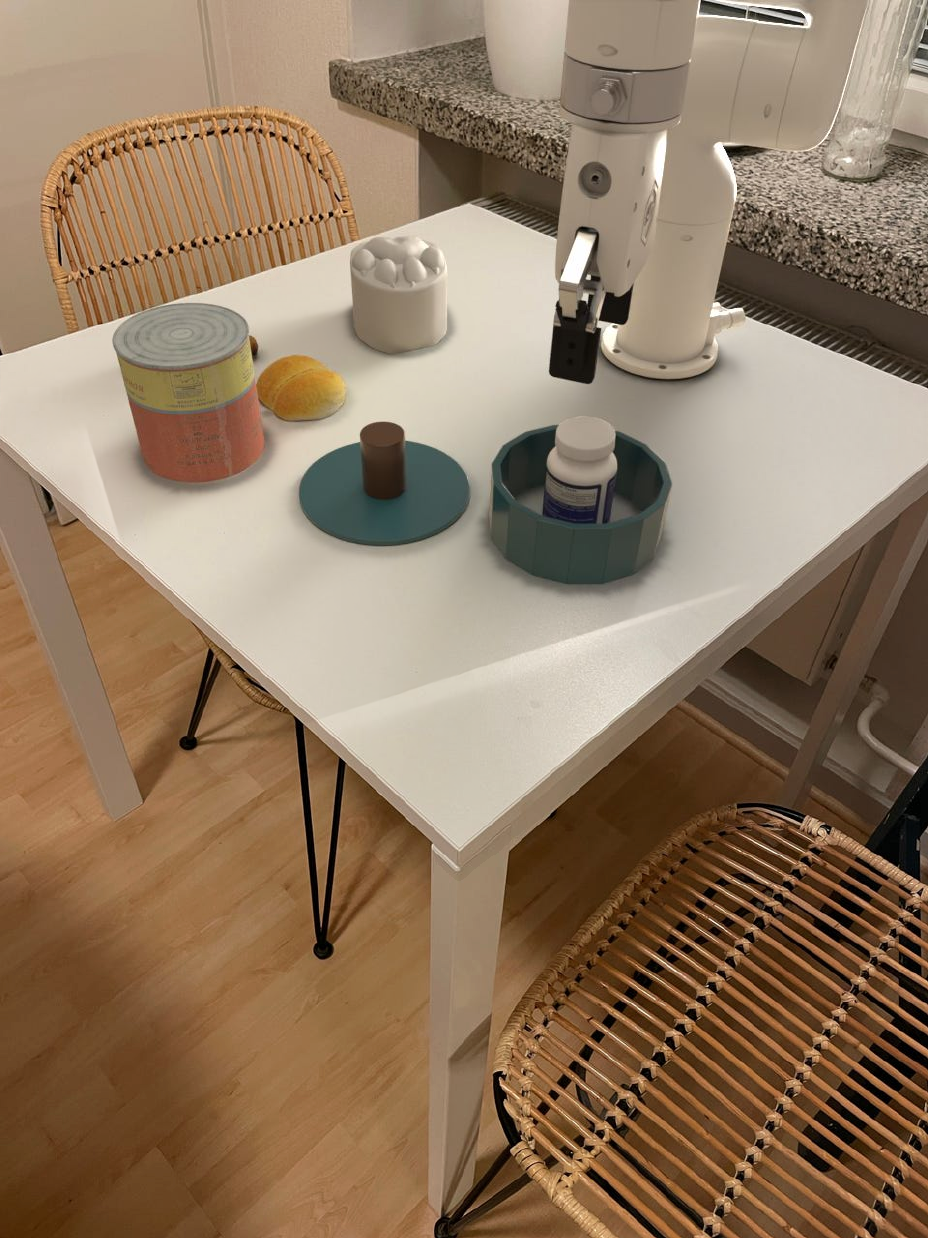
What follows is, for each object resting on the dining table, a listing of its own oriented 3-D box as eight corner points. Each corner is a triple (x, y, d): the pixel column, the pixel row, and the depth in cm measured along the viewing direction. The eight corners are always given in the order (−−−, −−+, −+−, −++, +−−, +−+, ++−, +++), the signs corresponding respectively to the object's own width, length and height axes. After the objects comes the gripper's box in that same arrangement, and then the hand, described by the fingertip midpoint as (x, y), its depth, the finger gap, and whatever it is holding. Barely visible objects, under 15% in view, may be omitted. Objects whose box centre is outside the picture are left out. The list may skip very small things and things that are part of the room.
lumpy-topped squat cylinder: (439, 298, 113) (439, 224, 107) (453, 352, 103) (454, 275, 97) (351, 302, 111) (346, 227, 105) (357, 357, 102) (352, 279, 96)
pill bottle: (574, 502, 84) (586, 403, 77) (621, 534, 81) (638, 434, 74) (526, 527, 82) (534, 427, 75) (573, 561, 78) (586, 460, 72)
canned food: (187, 409, 94) (163, 293, 86) (288, 434, 91) (273, 316, 83) (117, 470, 87) (83, 349, 78) (225, 499, 84) (202, 377, 75)
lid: (430, 435, 92) (429, 373, 87) (497, 524, 82) (501, 461, 77) (279, 470, 87) (270, 407, 83) (332, 569, 77) (325, 504, 73)
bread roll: (295, 435, 91) (291, 399, 88) (246, 397, 96) (240, 361, 93) (365, 406, 95) (363, 370, 92) (314, 370, 100) (310, 335, 97)
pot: (603, 468, 88) (612, 410, 84) (691, 561, 79) (706, 501, 75) (462, 505, 84) (463, 445, 80) (538, 608, 75) (544, 547, 70)
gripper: (651, 138, 51) (610, 416, 63) (709, 64, 63) (664, 309, 75) (519, 119, 53) (502, 393, 65) (599, 50, 65) (573, 292, 77)
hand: (589, 348), depth 70 cm, fingers open, 9 cm apart
